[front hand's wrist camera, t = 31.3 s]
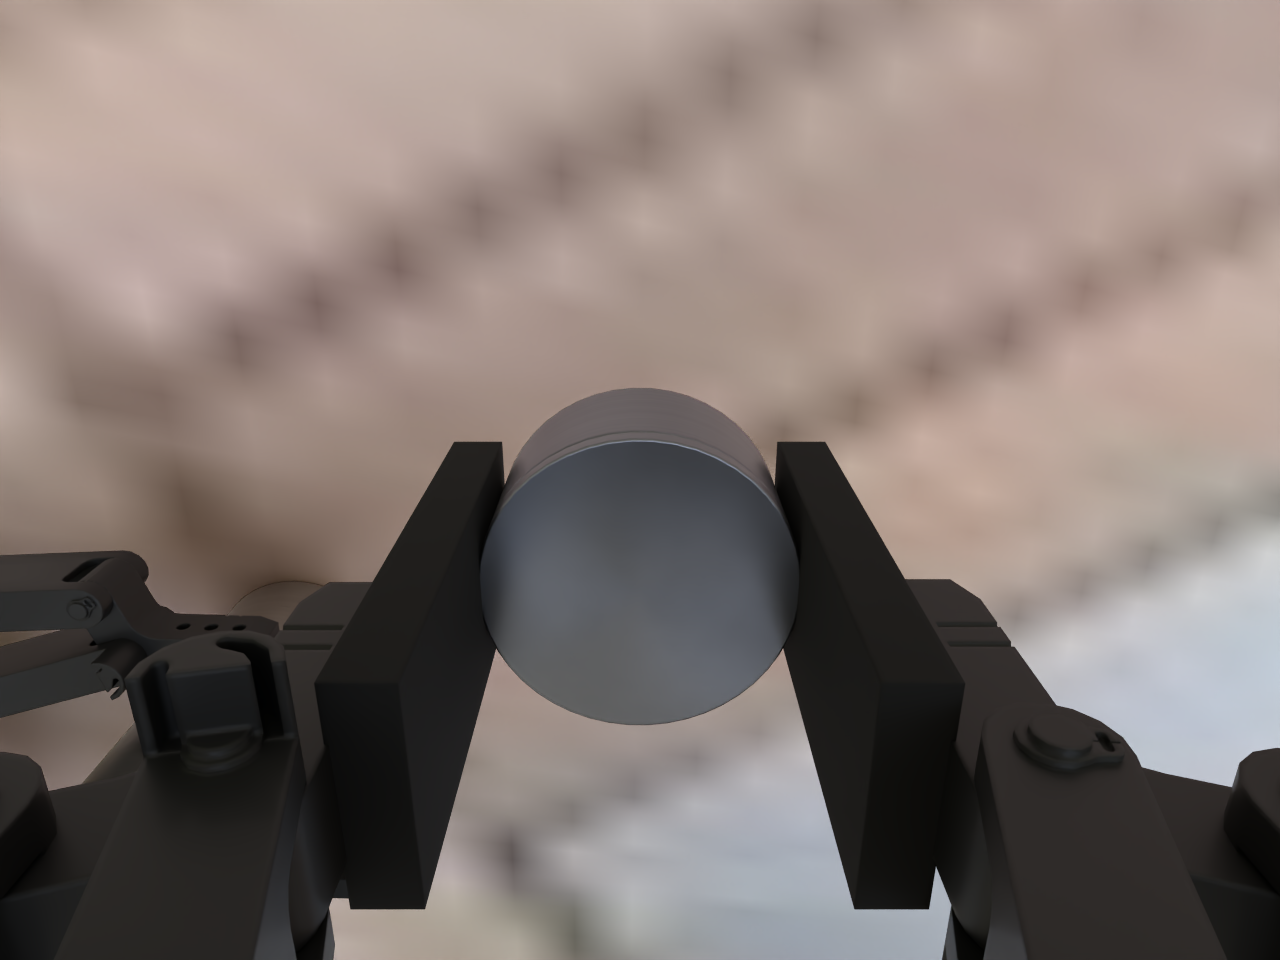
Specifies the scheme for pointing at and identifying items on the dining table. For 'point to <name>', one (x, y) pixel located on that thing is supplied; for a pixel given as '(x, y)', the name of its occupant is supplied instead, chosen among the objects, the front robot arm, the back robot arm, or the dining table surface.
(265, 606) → the bottle
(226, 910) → the front robot arm
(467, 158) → the dining table surface
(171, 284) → the dining table surface
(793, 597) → the cap
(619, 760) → the dining table surface
